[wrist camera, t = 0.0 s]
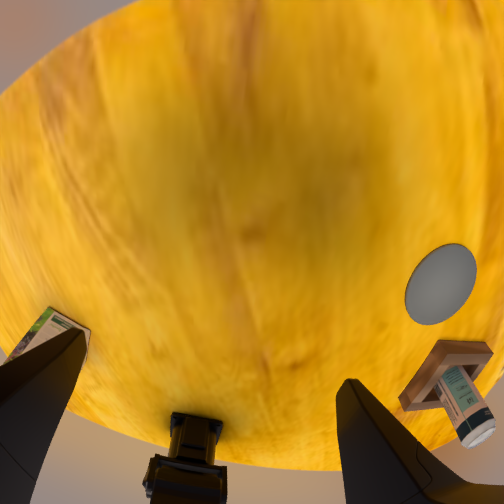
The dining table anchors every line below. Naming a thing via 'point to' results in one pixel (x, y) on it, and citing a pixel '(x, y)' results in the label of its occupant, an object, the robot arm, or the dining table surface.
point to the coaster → (440, 284)
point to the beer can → (465, 406)
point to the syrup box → (46, 332)
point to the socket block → (437, 362)
